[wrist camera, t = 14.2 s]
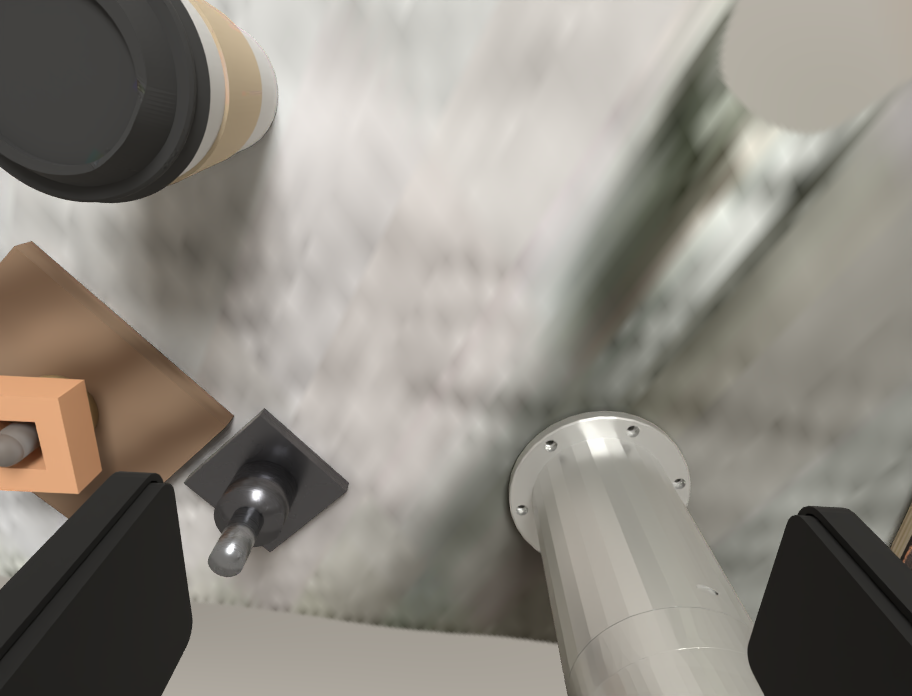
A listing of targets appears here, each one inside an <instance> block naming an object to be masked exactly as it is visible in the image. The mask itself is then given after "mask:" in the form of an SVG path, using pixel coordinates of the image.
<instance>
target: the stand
mask: <svg viewBox="0 0 912 696" xmlns="http://www.w3.org/2000/svg"><path fill="white" fill-rule="evenodd" d="M184 484H185V485H187V486H188V487H189V488H190V489H192V490H193V491H194V492H195V493H197V494H198V495H199V496H200V497H202V498H203V499H204V500H205V501H207V502H208V503H209V504H210V505H212V506H213V507H214V508H215V510H214V520H215V523H216V526H217V528H218V529H219V531H220V532H221V533H222V535H221V537H220V538H219V540H218V542H217V544H216V545H215V547H214V549H213V551H212V552H211V554H210V556H209V558H208V564H209V567H210V568H211V570H212V571H213V572H214V573H216V574H218V575H220V576H224V577H232V576H236V575H237V574H239V573H240V572H241V570H242V568H243V566H244V564H245V562H246V560H247V558H248V556H249V554H250V552H251V550H252V547H258V546H263V547H264V548H265V549H267V550H268V551H269V552H271V551H272V550H273V549H275V548H276V547H277V546H278V545H280V544H281V543H282V542H283V541H285V540H286V539H287V538H288V537H290V536H291V535H292V534H293V533H295V532H296V531H297V530H298V529H300V528H301V527H302V526H303V525H305V524H306V523H307V522H308V521H310V520H311V519H312V518H313V517H315V516H316V515H317V514H319V513H320V512H321V511H322V510H324V509H325V508H326V507H327V506H329V505H330V504H331V503H332V502H334V501H335V500H336V499H337V498H339V497H340V496H341V495H342V494H344V493H345V492H346V491H347V488H348V484H349V483H348V482H347V481H346V480H345V479H344V478H343V477H342V476H340V475H339V474H338V473H337V472H336V471H335V470H334V469H333V468H331V467H330V466H329V465H328V464H327V463H326V462H325V461H323V460H322V459H321V458H320V457H319V456H318V455H317V454H316V453H314V452H313V451H312V450H311V449H310V448H309V447H308V446H307V445H305V444H304V443H303V442H302V441H301V440H300V439H299V438H298V437H296V436H295V435H294V434H293V433H292V432H291V431H290V430H288V429H287V428H286V427H285V426H284V425H283V424H282V423H281V422H279V421H278V420H277V419H276V418H275V417H274V416H273V415H272V414H270V413H269V412H268V411H267V410H266V409H265V408H264V409H263V410H262V411H261V412H260V413H259V414H258V415H256V416H255V417H254V418H253V419H252V420H251V421H250V422H249V423H247V424H246V425H245V426H244V427H243V428H242V429H241V430H240V431H239V432H237V433H236V434H235V435H234V436H233V437H232V438H231V439H230V440H228V441H227V442H226V443H225V444H224V445H223V446H222V447H221V448H219V449H218V450H217V451H216V452H215V453H214V454H213V455H212V456H210V457H209V458H208V459H207V460H206V461H205V462H204V463H203V464H201V465H200V466H199V467H198V468H197V469H196V470H195V471H194V472H192V473H191V474H190V475H189V477H188V478H187V479H186V481H185V482H184Z"/></svg>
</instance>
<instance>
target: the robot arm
mask: <svg viewBox="0 0 912 696" xmlns="http://www.w3.org/2000/svg"><path fill="white" fill-rule="evenodd" d="M630 426H632V427H630ZM629 427H630V428H629ZM549 440H552V441H550V442H547V441H549ZM690 488H691V482H690V474H689V469H688V467H687V464H686V461H685V459H684V456H683V455H682V453H681V452H680V450H679V449H678V447H677V445H676V444H675V443H674V442H673V440H672V439H671V438H670V437H669V436H668V435H667V434H666V433H665V432H664V431H663V430H661V429H660V428H659V427H657V426H656V425H655V424H653V423H651V422H649V421H647V420H645V419H643V418H641V417H639V416H635V415H631V414H627V413H623V412H614V411H596V412H586V413H582V414H578V415H575V416H571V417H568V418H566V419H563V420H561V421H559V422H557V423H555V424H552V425H551V426H549V427H548V428H546V429H545V430H544V431H542V432H541V433H539V434H538V435H537V436H536V437H535V438H534V439H533V440H532V441H531V442H530V443H529V444H528V445H527V446H526V447H525V448H524V450H523V451H522V453H521V454H520V456H519V457H518V458H517V461H516V463H515V465H514V468H513V470H512V472H511V477H510V482H509V504H510V511H511V515H512V518H513V520H514V523H515V525H516V528H517V529H518V531H519V532H520V534H521V535H522V537H523V538H524V539H525V540H526V541H527V542H528V543H529V544H530V545H531V546H532V547H533V548H534V549H535V550H537V551H538V552H540V553H541V556H542V561H543V567H544V572H545V577H546V583H547V588H548V594H549V599H550V604H551V610H552V615H553V620H554V626H555V631H556V636H557V642H558V647H559V652H560V657H561V663H562V668H563V673H564V678H565V684H566V689H567V694H568V696H912V570H911V569H910V568H909V567H908V566H907V565H906V564H905V563H904V562H903V561H902V560H901V559H900V558H899V557H898V556H897V555H896V554H895V553H894V552H893V551H892V550H891V549H890V548H889V547H888V546H887V545H886V544H885V543H884V542H883V541H882V540H881V539H880V538H879V537H878V536H877V535H876V534H875V533H874V532H873V531H872V530H871V529H870V528H869V527H868V526H867V525H866V524H865V523H864V522H863V521H862V520H861V519H860V518H859V517H858V516H857V515H856V514H855V513H853V512H852V511H851V510H849V509H846V508H838V507H818V506H807V507H803V508H802V509H801V510H800V511H799V513H798V515H794V516H792V517H791V518H790V519H789V520H788V522H787V525H786V528H785V531H784V534H783V537H782V540H781V543H780V546H779V550H778V553H777V556H776V559H775V562H774V565H773V568H772V571H771V574H770V577H769V581H768V584H767V587H766V590H765V593H764V596H763V599H762V602H761V605H760V609H759V612H758V615H757V618H756V621H755V624H754V623H753V622H752V620H751V618H750V617H749V615H748V613H747V611H746V610H745V608H744V606H743V605H742V603H741V601H740V599H739V598H738V596H737V594H736V592H735V591H734V589H733V587H732V586H731V584H730V582H729V580H728V579H727V577H726V575H725V574H724V572H723V570H722V568H721V567H720V565H719V563H718V562H717V560H716V558H715V556H714V555H713V553H712V551H711V549H710V548H709V546H708V544H707V543H706V541H705V539H704V537H703V536H702V534H701V532H700V531H699V529H698V527H697V525H696V524H695V522H694V520H693V518H692V517H691V515H690V513H689V512H688V510H687V505H688V502H689V498H690ZM191 630H192V613H191V605H190V598H189V591H188V584H187V577H186V570H185V563H184V556H183V549H182V542H181V535H180V528H179V521H178V514H177V507H176V499H175V493H174V489H173V487H172V485H171V484H168V483H164V482H163V479H162V477H161V476H160V475H159V474H157V473H146V472H127V471H119V472H115V473H114V474H112V475H111V476H110V477H109V478H108V479H107V480H106V481H105V482H104V483H103V484H102V485H101V486H100V487H99V488H98V489H97V490H96V491H95V492H94V493H93V494H92V495H91V496H90V497H89V498H88V499H87V500H86V502H85V503H84V504H83V505H82V506H81V507H80V508H79V509H78V510H77V511H76V512H75V513H74V514H73V515H72V516H71V517H70V518H69V519H68V520H67V521H66V522H65V523H64V524H63V525H62V526H61V527H60V528H59V529H58V530H57V531H56V533H55V534H54V535H53V536H52V537H51V538H50V539H49V540H48V541H47V542H46V543H45V544H44V545H43V546H42V547H41V548H40V549H39V550H38V551H37V552H36V553H35V554H34V555H33V556H32V557H31V558H30V559H29V560H28V561H27V562H26V564H25V565H24V566H23V567H22V568H21V569H20V570H19V571H18V572H17V573H16V574H15V575H14V576H13V577H12V578H11V579H10V580H9V581H8V582H7V583H6V584H5V585H4V586H3V587H2V588H1V590H0V696H161V695H162V693H163V691H164V689H165V687H166V685H167V684H168V681H169V680H170V678H171V676H172V674H173V672H174V670H175V668H176V666H177V664H178V662H179V660H180V658H181V656H182V654H183V652H184V650H185V648H186V646H187V644H188V641H189V639H190V635H191Z"/></svg>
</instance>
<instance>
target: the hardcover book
mask: <svg viewBox="0 0 912 696" xmlns="http://www.w3.org/2000/svg"><path fill="white" fill-rule="evenodd" d="M890 549H891V550H892V551H893V552H894V553H895V554H896V555H897V556H898V557H899V558H900V559H901V560H902V561H903V562H904V563H905V564H906V565H907V566H908V567H909V568H910V569H911V570H912V503H911V506H910V508H909V510H908V512H907V514H906V516H905V518H904V520H903V522H902V525H901V527H900V529H899V531H898V533H897V535H896V537H895V539H894V542H893V544H892V546H891V548H890Z"/></svg>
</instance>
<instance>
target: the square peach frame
mask: <svg viewBox="0 0 912 696" xmlns="http://www.w3.org/2000/svg"><path fill="white" fill-rule="evenodd" d="M14 421H23V422H35V424H36V429H37V433H38V437H39V441H40V445H41V446H39V447H38V448H36V449H35V450H34V451H33V452H31V453H30V454H29V455H28V456H26V457H25V458H24V459H22V460H21V461H20V462H18V463H17V464H15V465H12V466H9V467H0V490H6V491H27V492H48V493H69V494H79V493H80V492H81V491H82V490H83V489H84V488H85V487H86V486H87V485H88V484H89V483H90V482H91V481H92V480H93V479H94V478H95V477H96V476H97V475H98V474H99V473H100V472H101V471H102V467H101V462H100V457H99V452H98V447H97V442H96V437H95V432H94V427H93V421H92V416H91V411H90V406H89V401H88V396H87V391H86V386H85V381H84V380H81V379H61V378H41V377H21V376H1V375H0V431H1V430H2V429H4V428H5V427H7V426H8V425H9V424H11V423H12V422H14Z"/></svg>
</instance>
